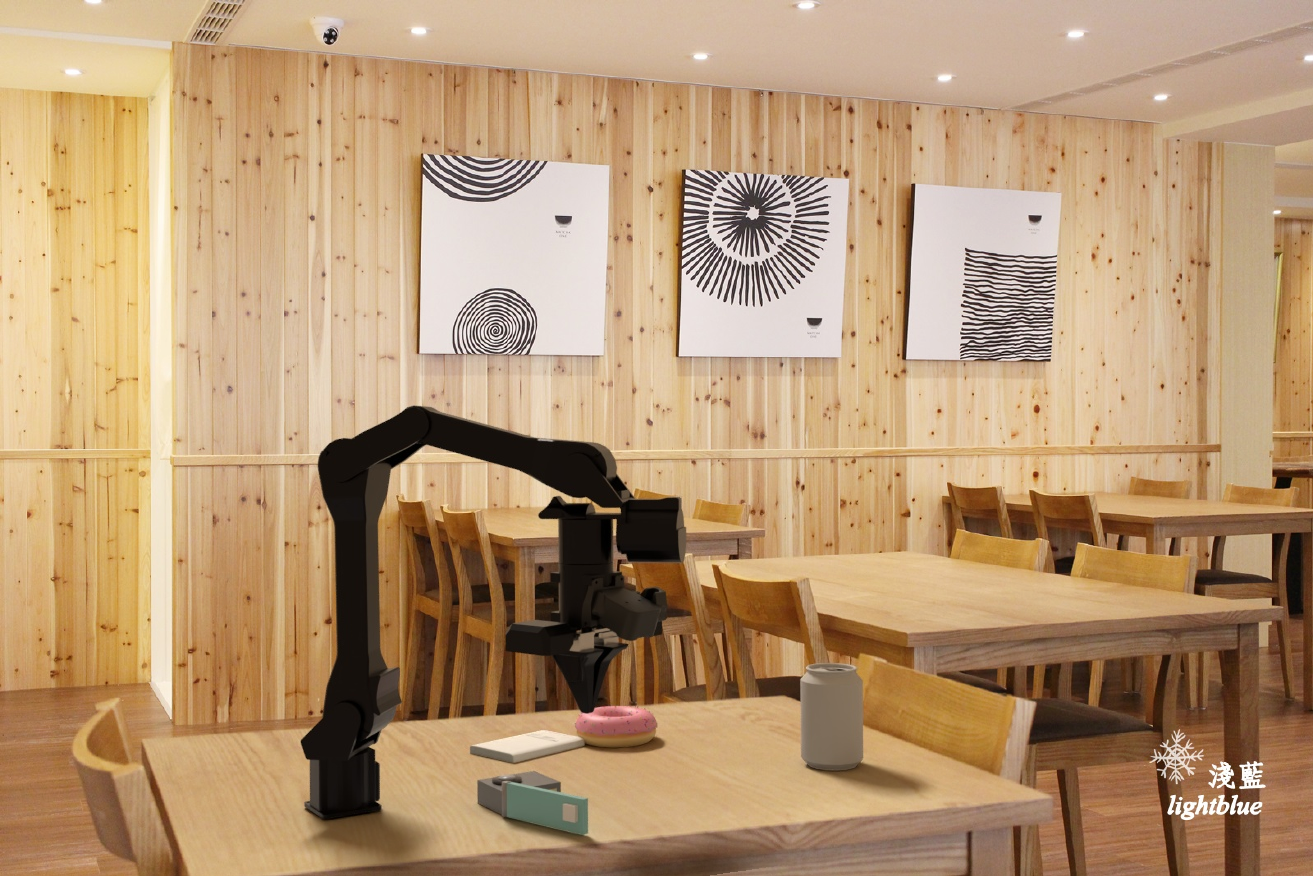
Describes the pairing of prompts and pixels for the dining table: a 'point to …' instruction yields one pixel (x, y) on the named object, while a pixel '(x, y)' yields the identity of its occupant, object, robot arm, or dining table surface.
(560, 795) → the side door
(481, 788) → the camera body
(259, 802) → the dining table surface
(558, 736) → the external hard drive
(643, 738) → the doughnut
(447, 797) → the dining table surface
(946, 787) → the dining table surface
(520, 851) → the dining table surface
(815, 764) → the can
